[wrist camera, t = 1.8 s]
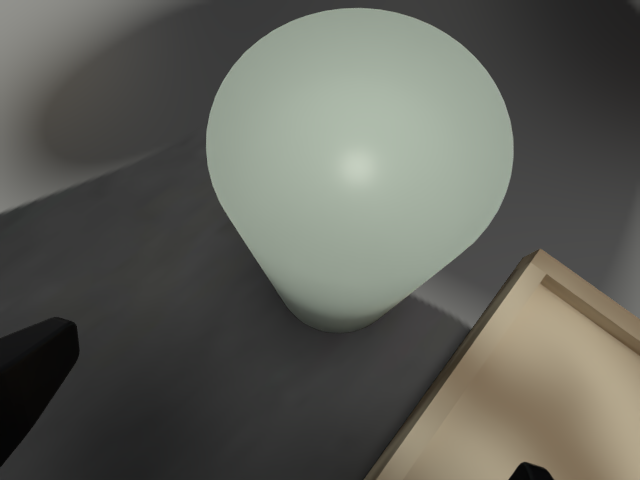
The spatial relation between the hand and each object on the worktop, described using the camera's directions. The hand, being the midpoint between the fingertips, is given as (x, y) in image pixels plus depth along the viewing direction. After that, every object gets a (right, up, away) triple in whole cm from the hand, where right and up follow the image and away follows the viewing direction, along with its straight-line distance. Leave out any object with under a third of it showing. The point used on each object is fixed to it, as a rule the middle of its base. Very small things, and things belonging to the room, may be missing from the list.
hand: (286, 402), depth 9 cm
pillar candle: (+1, +2, +13) cm, 13 cm away
